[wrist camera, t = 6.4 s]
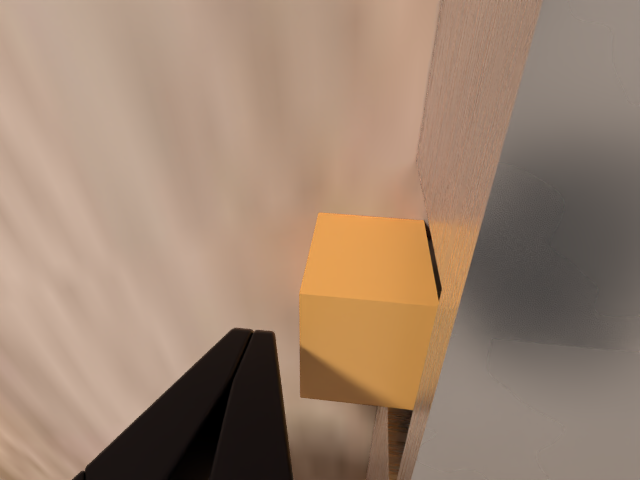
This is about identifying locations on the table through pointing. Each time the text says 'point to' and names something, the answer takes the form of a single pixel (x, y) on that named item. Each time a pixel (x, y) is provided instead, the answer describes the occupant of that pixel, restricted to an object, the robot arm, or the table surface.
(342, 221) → the plug
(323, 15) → the table surface
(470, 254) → the housing
